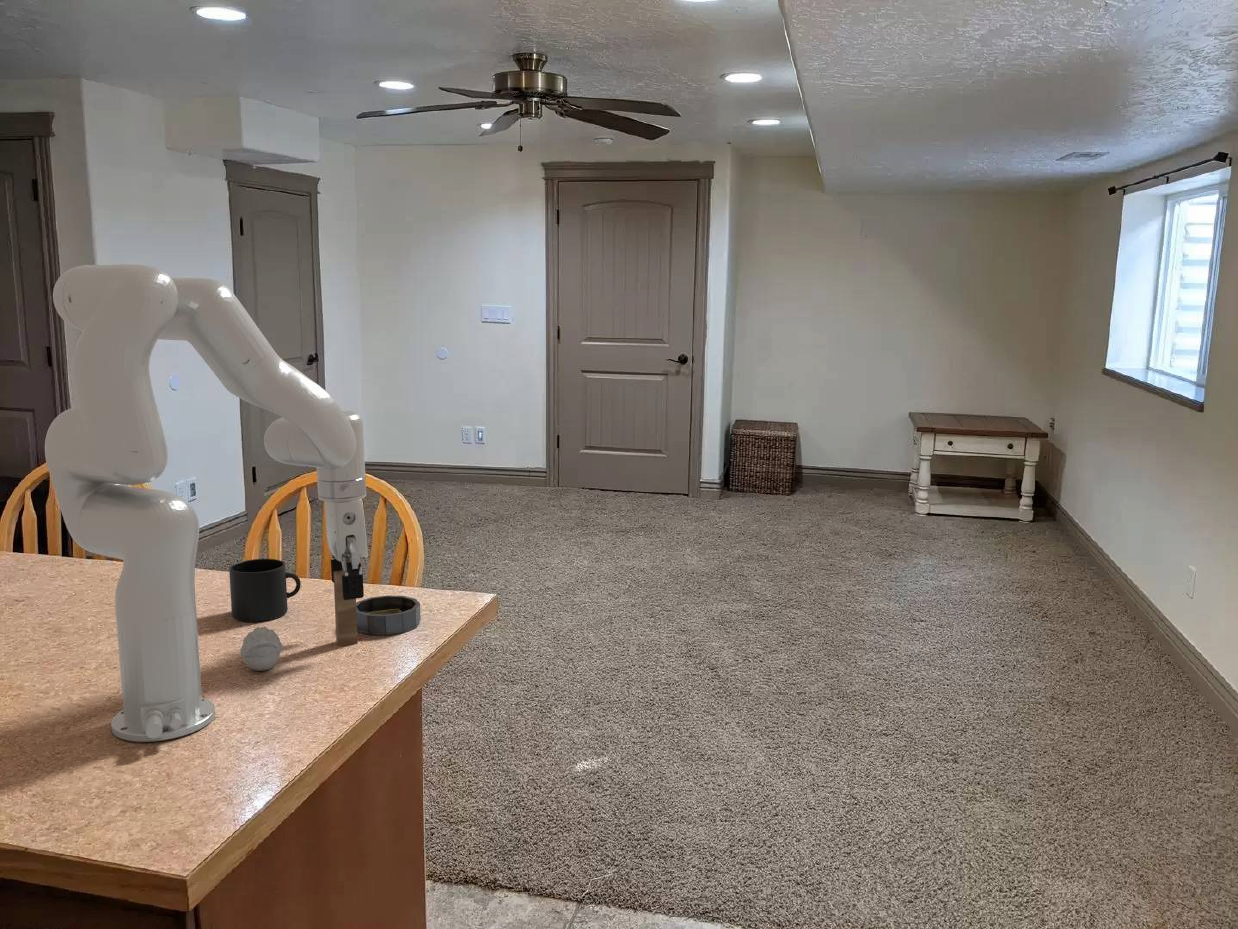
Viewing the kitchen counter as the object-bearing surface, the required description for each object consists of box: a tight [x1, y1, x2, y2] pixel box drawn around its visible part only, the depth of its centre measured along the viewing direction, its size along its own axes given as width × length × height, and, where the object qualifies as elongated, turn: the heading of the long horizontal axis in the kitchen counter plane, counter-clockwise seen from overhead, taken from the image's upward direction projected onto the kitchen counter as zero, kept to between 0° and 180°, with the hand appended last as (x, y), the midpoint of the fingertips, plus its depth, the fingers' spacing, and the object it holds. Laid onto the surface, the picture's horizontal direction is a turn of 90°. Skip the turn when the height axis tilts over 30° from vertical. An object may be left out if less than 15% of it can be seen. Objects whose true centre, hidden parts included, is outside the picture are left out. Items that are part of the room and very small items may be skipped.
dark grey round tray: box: [356, 594, 421, 637], centre depth 170 cm, size 11×11×4 cm
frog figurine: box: [239, 626, 283, 672], centre depth 148 cm, size 6×7×7 cm
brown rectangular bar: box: [333, 570, 358, 647], centre depth 160 cm, size 2×3×12 cm
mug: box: [228, 558, 302, 623], centre depth 174 cm, size 9×12×9 cm
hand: (347, 589), depth 160 cm, fingers open, 9 cm apart
